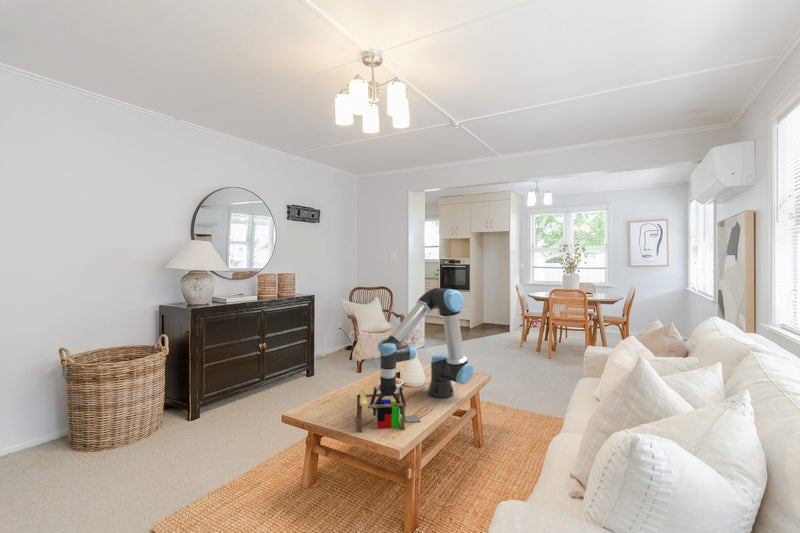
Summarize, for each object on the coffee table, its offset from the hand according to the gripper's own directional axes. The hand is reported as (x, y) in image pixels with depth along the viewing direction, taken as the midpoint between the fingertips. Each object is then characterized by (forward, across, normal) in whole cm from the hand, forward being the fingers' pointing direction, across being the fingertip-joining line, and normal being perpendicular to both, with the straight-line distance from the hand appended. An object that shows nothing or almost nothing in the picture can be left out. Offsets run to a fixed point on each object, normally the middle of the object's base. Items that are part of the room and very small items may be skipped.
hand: (387, 421), depth 185 cm
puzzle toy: (+1, 0, 0) cm, 1 cm away
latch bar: (-10, +12, 0) cm, 15 cm away
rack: (+1, +3, 0) cm, 3 cm away
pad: (+1, -13, -3) cm, 13 cm away
